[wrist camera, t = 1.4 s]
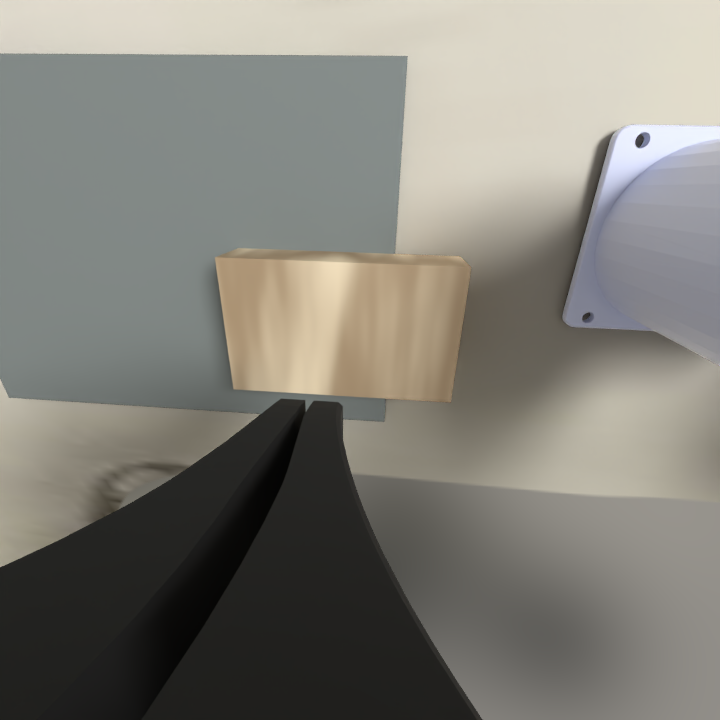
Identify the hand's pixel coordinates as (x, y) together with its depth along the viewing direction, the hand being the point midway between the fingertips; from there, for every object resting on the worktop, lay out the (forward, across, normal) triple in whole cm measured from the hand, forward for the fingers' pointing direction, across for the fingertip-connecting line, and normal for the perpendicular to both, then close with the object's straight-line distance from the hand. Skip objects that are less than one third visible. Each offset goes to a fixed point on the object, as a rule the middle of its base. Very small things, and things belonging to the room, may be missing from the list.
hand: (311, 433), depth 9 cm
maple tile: (+8, +5, 0) cm, 10 cm away
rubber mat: (+10, +9, -2) cm, 14 cm away
